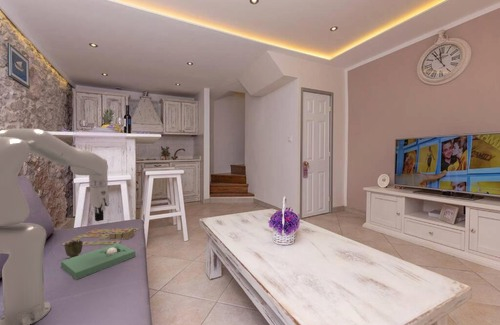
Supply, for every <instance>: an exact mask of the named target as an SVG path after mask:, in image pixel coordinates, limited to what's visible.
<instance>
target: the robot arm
mask: <svg viewBox="0 0 500 325" xmlns="http://www.w3.org/2000/svg"><path fill="white" fill-rule="evenodd" d="M31 154H34V155H36V156H39V157H41V158H43V159H44V160H46V161H49V162H51V163H53V164H55V165H60V166H65V167H69V168H70V171H71V172H72V173H73V174H74V175H77V176H88V184H89V189H90V194H89V201H90V205H91V206H92V207H93V211H94V222H101V221H104V212H105V210H106V207H109V206H110V196H109V189H108V188H109V187H108V185H109V184H108V182H109V181H108V170H109V165H108V161H107V160H106V159H105V158H103V157H101V156H100V155H98V154H96V153H94V152H91V151H88V150H85V149H82V148H80V147H76V146H71V145H70V144H68V143H66V142H64V141H63V140H62V139H60V138H58V137H57V136H55V135H53V134H52V133H50V132H49V131H46V130H43V129H42V128H41V129H40V128H19V127H18V128H8V129H7V128H6V129H2V130H0V254H4V255H6V254H7V255H8V258H7V259H6V261H5V262H4V264H3V267H2V270H1V277H2V297H3V298H2V299H3V316H1V317H0V325H30V324H31V325H32V324H35V323H36V322H39V320H41V319H43V318H44V317H45V316H46V315H48V314H49V312H50V310H51V306H52V305H51V303H50V302H49V301H47V300H45V276H44V271H45V270H44V251H45V250H44V249H45V244H46V241H47V231H46V229H45V228H44V227H43V226H42V225H40V224H38V223H33V222H25V221H26V220H27V219H28V218H29V216H30V207H29V204H28V201H27V199H26V197H25V195H24V192H23V190H22V188H21V186H20V184H19V180H18V179H19V173H20V170H21V168H22V166H23V165H24V164H25V162H26V161H27V160H28V158H29V156H30V155H31Z"/></svg>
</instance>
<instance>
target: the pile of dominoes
mask: <svg viewBox="0 0 500 325" xmlns="http://www.w3.org/2000/svg"><path fill="white" fill-rule="evenodd" d="M110 229H112V230H110ZM115 229H116V230H114V228H108V229H105V228H101V229H99V228H95V229H93V230H89V231H86V232H84V234H78V235H77V236H75V237H73V238H72V239H69V240H68V241H66V242H63V243H62V244H61V246H64V244H66V243H67V244H69V242H72V241H76V242H77V240H78V241H80V240H81V239H82V238H99V240H101V241H83V244H82V246H110V245H113V244H116V243H120V242H121V240H130V239H131V238H133V237H134V235H135V232H138V231H139V230H140V228H138V227H136V228H134V227H127V228H115ZM121 229H122V230H121ZM106 232H107V233H106ZM93 233H94V234H93ZM97 233H98V234H97ZM101 233H105V234H101ZM122 238H123V239H122ZM129 238H130V239H129ZM103 239H105V241H102V240H103ZM107 239H109V240H108V241H106V240H107ZM110 239H114V240H113V241H111V240H110ZM116 239H120V240H116ZM115 240H116V241H115ZM120 244H121V243H120ZM64 247H65V246H64Z"/></svg>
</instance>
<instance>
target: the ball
mask: <svg viewBox="0 0 500 325" xmlns="http://www.w3.org/2000/svg"><path fill="white" fill-rule="evenodd" d="M115 253H117V249H116V248H113V247H112V248H109V249H108V250H107V252H106V254H107V255H112V254H115Z"/></svg>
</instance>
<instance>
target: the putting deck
mask: <svg viewBox="0 0 500 325" xmlns="http://www.w3.org/2000/svg"><path fill="white" fill-rule="evenodd" d="M112 247H113V248H116V249H117V253H115V254H112V255H107V254H106V252H107V250H108V249H109V248H112ZM78 255H79V256H76V257H72V258H70V257H69V258H66V259H63V260H61V261H60V267H61V269H63V270H64V271H65V272H66V273H68V274H69V275H70V276H71V277H73V278H74V279H75V280H79V279H81V278H84V277H86V276H89V275H91V274H94V273H97V272H100V271H102V270H105V269H107V268H110V267H112V266H115V265H117V264H120V263H122V262H125V261H128V260H131V259H133V258H135V257H136V250H134V249H132V248H130V247H128V246H126V245H124V244H122V243H116V244H113V245H106V246H105V247H101V248H98V249H95V250H92V251H89V252H86V253H82V254H78Z"/></svg>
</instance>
